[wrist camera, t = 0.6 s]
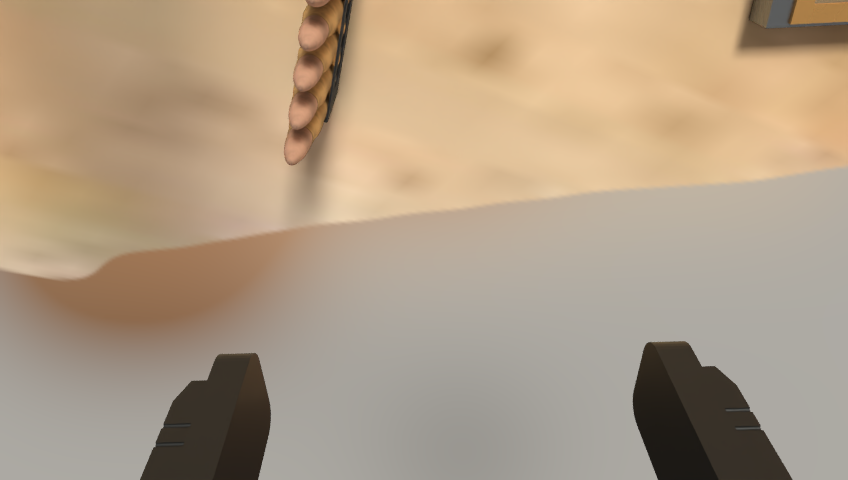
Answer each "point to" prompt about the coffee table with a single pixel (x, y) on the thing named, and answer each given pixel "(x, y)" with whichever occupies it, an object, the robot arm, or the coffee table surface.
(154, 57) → the coffee table surface
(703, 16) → the coffee table surface
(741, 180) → the coffee table surface
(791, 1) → the grey peg board
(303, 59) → the ammunition clip
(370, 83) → the coffee table surface
